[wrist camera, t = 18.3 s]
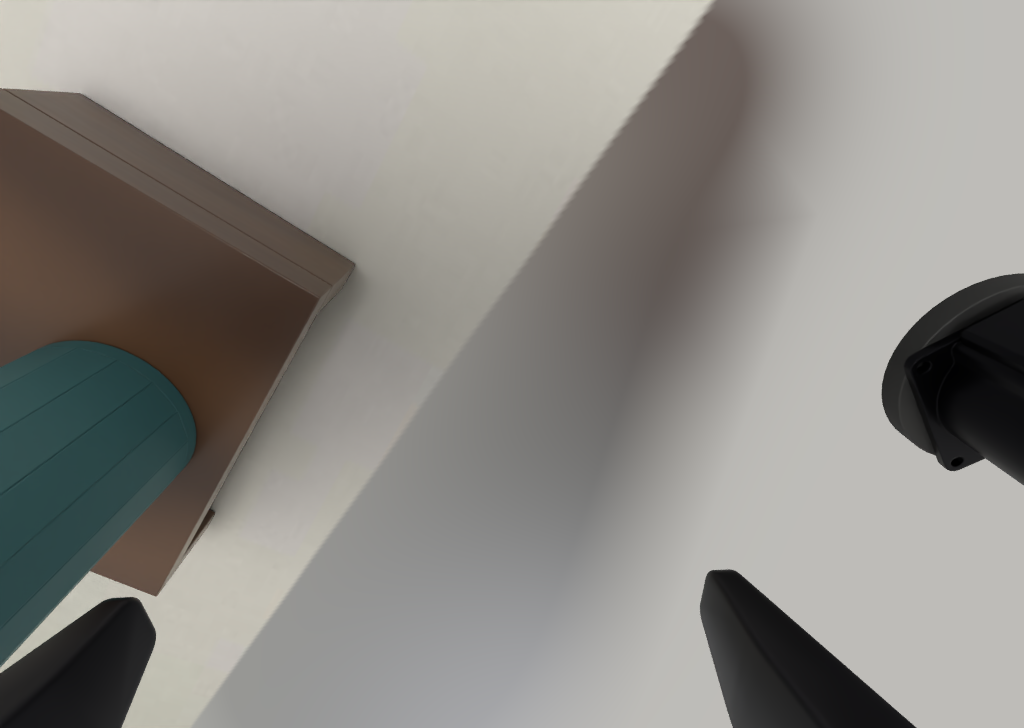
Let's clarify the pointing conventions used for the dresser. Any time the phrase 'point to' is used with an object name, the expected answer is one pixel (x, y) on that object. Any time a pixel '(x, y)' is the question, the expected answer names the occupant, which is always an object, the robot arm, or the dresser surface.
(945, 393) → the robot arm
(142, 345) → the brown wooden pedestal
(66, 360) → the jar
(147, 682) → the dresser surface
